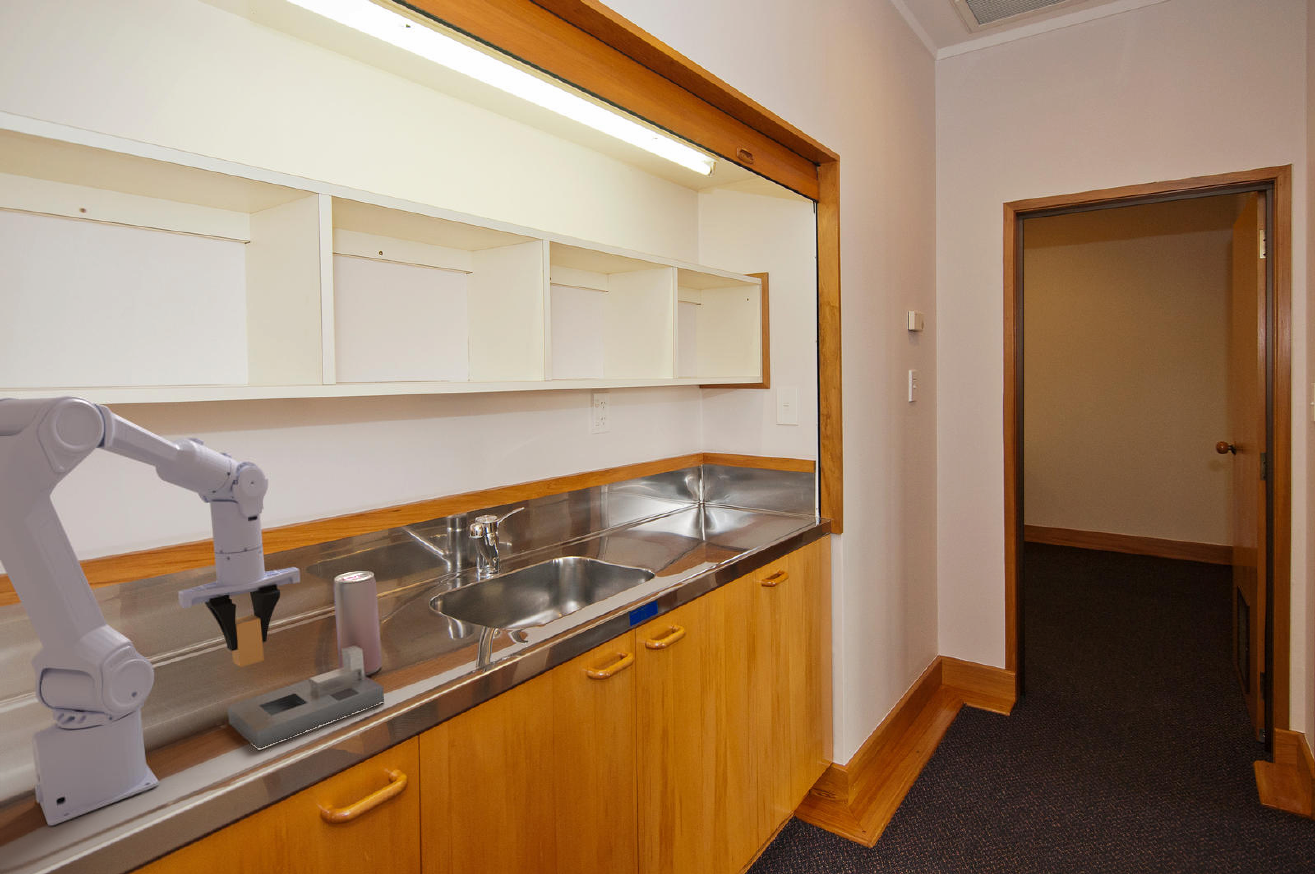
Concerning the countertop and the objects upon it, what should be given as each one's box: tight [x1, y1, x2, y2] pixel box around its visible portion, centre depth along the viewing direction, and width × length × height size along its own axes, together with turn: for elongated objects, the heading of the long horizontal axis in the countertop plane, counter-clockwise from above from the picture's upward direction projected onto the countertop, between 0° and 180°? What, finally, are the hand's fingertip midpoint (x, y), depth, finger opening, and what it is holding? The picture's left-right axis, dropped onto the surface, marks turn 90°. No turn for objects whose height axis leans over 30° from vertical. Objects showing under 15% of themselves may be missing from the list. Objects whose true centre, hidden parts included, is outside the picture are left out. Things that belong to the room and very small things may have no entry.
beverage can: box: [333, 570, 383, 677], centre depth 108 cm, size 6×6×15 cm
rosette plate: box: [227, 676, 385, 748], centre depth 95 cm, size 16×11×2 cm
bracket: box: [309, 646, 365, 696], centre depth 98 cm, size 6×2×4 cm, turn 137°
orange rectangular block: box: [231, 613, 265, 668], centre depth 98 cm, size 3×3×6 cm
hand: (247, 644), depth 98 cm, fingers closed on orange rectangular block, 3 cm apart
